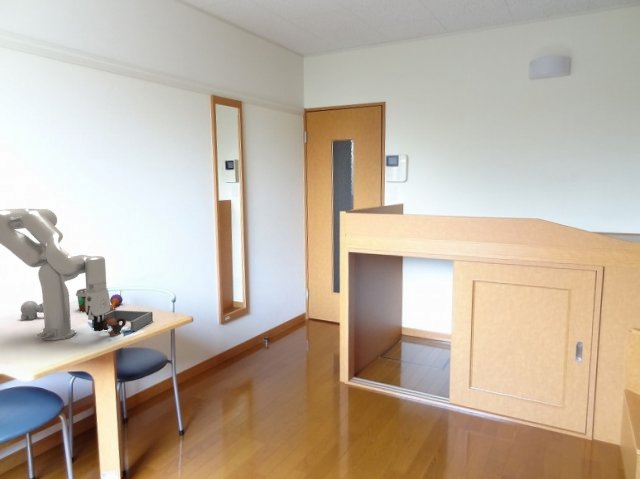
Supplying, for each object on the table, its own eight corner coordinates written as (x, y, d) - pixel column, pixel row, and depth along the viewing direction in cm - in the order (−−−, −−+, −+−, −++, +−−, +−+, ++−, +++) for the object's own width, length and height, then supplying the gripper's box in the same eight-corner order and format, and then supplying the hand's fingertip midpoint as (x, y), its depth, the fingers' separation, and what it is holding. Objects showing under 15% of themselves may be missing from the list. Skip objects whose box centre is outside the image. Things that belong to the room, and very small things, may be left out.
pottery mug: (104, 340, 194) (95, 322, 195) (99, 344, 201) (91, 327, 202) (132, 327, 202) (123, 309, 203) (127, 331, 209) (118, 315, 210)
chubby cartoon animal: (46, 320, 222) (45, 302, 221) (18, 321, 220) (17, 303, 219) (52, 315, 229) (51, 298, 228) (25, 317, 227) (23, 299, 226)
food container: (79, 307, 245) (78, 288, 244) (92, 306, 247) (91, 287, 246) (74, 313, 233) (73, 293, 232) (88, 312, 235) (87, 292, 234)
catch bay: (133, 331, 204) (133, 321, 203) (92, 329, 207) (91, 319, 206) (152, 321, 220) (152, 311, 219) (114, 319, 223) (113, 310, 222)
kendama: (101, 306, 232) (110, 294, 251) (104, 317, 233) (113, 304, 252) (114, 303, 233) (121, 291, 252) (117, 315, 234) (124, 302, 253)
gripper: (92, 291, 185) (95, 336, 187) (115, 283, 200) (117, 325, 202) (75, 290, 186) (78, 335, 188) (99, 282, 201) (101, 325, 203)
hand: (98, 330), depth 195 cm, fingers closed
